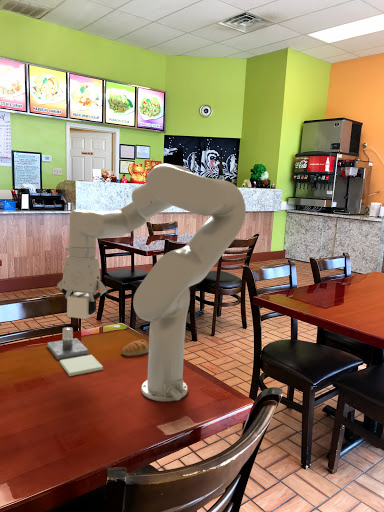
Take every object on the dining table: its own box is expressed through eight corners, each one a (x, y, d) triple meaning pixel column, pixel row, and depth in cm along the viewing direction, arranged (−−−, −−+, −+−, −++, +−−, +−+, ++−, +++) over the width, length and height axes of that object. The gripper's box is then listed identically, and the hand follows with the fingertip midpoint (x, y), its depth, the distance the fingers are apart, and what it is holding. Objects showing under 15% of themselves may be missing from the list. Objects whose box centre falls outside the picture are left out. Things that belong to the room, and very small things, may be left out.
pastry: (128, 359, 131) (128, 348, 131) (116, 353, 136) (116, 342, 136) (151, 352, 138) (151, 342, 137) (138, 346, 143) (139, 336, 142)
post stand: (88, 354, 133) (88, 332, 132) (57, 359, 128) (57, 336, 127) (76, 342, 143) (77, 321, 142) (47, 346, 138) (47, 325, 137)
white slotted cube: (86, 319, 118) (86, 297, 117) (67, 316, 119) (67, 295, 118) (95, 313, 124) (95, 293, 123) (76, 311, 125) (77, 291, 124)
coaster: (102, 369, 123) (102, 366, 122) (69, 376, 117) (69, 372, 117) (91, 357, 131) (91, 354, 131) (59, 363, 125) (59, 360, 125)
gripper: (48, 251, 117) (48, 312, 119) (104, 256, 113) (103, 319, 116) (62, 248, 124) (61, 305, 127) (115, 253, 121) (113, 312, 123)
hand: (81, 311), depth 121 cm, fingers closed on white slotted cube, 5 cm apart
